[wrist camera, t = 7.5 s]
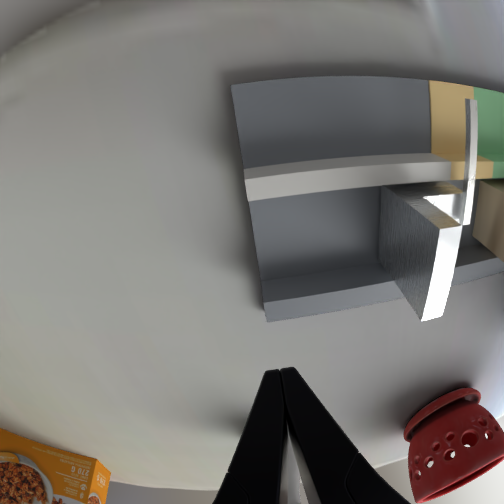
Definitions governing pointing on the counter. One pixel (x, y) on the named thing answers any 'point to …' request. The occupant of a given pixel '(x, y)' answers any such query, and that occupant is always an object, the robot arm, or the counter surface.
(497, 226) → the block
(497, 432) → the plant pot
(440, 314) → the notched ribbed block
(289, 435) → the robot arm
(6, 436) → the cereal box
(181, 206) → the counter surface
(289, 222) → the bench
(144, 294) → the counter surface
